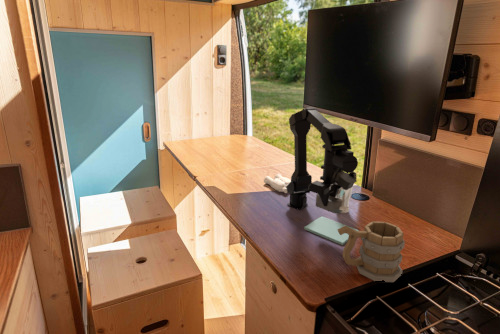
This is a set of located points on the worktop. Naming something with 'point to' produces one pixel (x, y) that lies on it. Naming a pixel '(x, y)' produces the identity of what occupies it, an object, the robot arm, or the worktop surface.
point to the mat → (328, 230)
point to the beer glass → (344, 197)
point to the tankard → (376, 250)
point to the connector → (331, 204)
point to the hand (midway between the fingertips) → (328, 204)
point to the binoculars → (278, 182)
